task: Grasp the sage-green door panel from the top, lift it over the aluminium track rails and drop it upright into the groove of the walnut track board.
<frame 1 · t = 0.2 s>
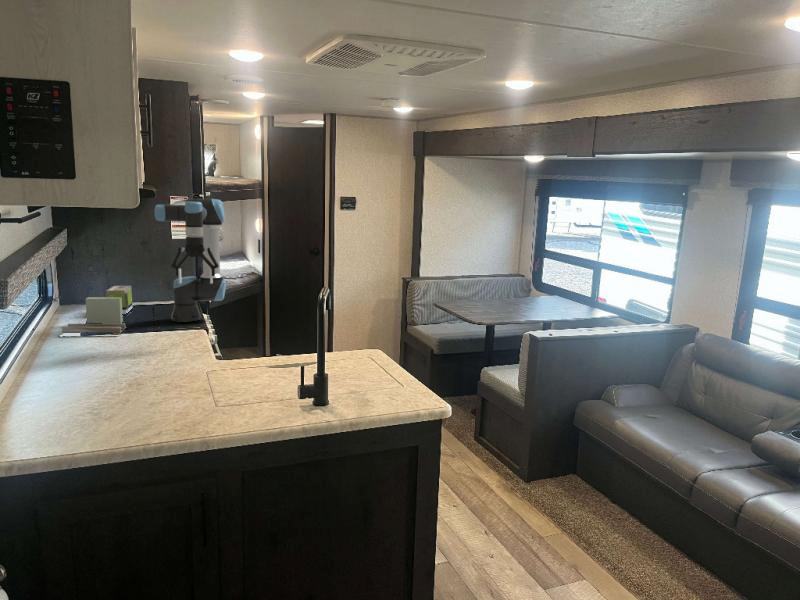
hand: (195, 283, 277), 28 cm above the worktop, tool pointing down, fingers open, 13 cm apart
tea box: (120, 314, 338), on the worktop
door panel: (105, 325, 311), on the worktop
walnut track: (94, 332, 295), on the worktop
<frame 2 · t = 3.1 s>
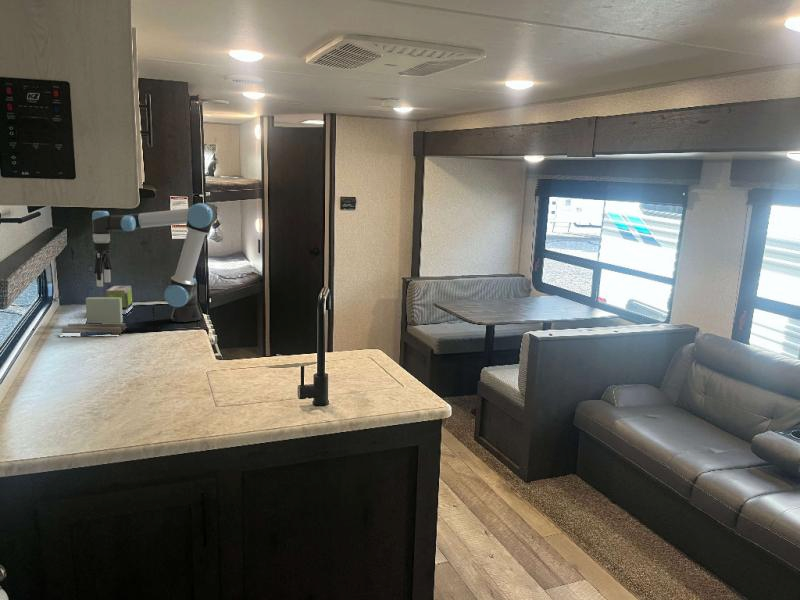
hand: (103, 284, 307), 21 cm above the worktop, tool pointing down, fingers open, 13 cm apart
nothing on the worktop moved.
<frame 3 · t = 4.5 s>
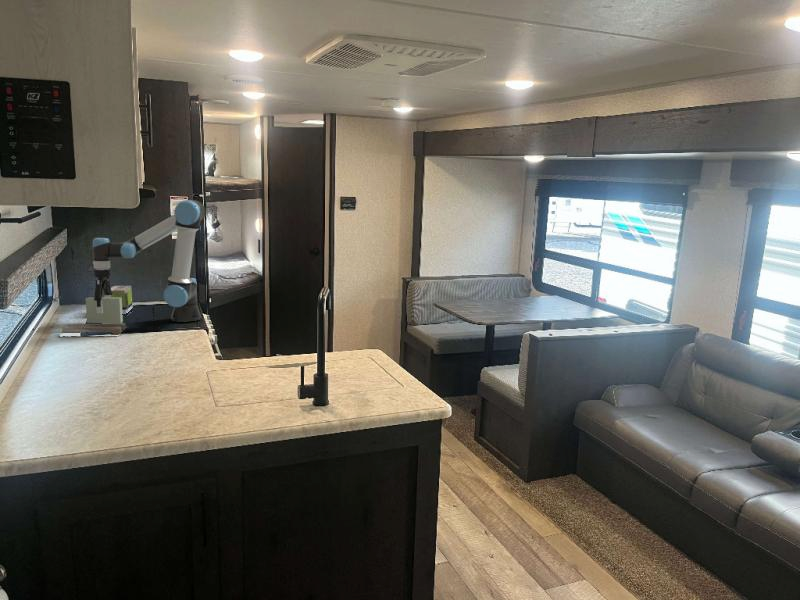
hand: (103, 310, 310), 8 cm above the worktop, tool pointing down, fingers open, 13 cm apart
nothing on the worktop moved.
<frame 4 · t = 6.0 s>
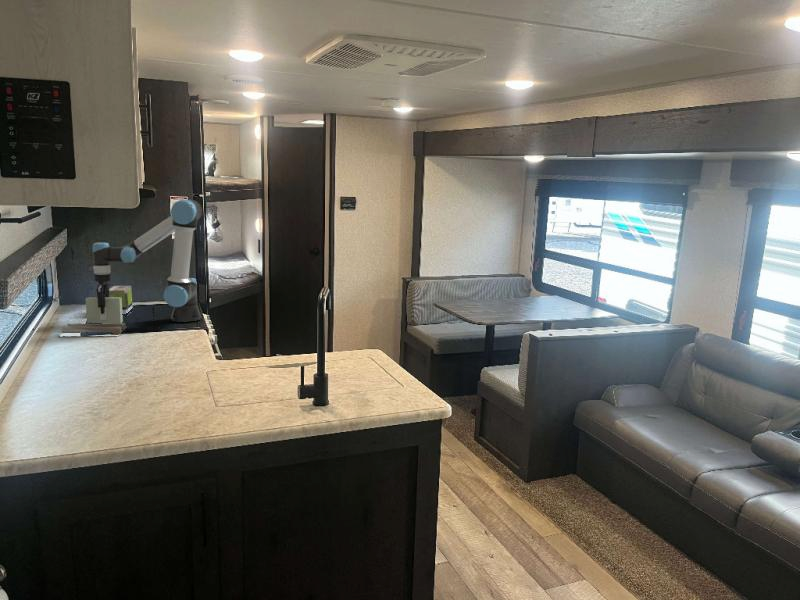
hand: (104, 318, 311), 3 cm above the worktop, tool pointing down, fingers closed on door panel, 4 cm apart
door panel: (105, 324, 311), on the worktop, touching gripper
everything else where it was.
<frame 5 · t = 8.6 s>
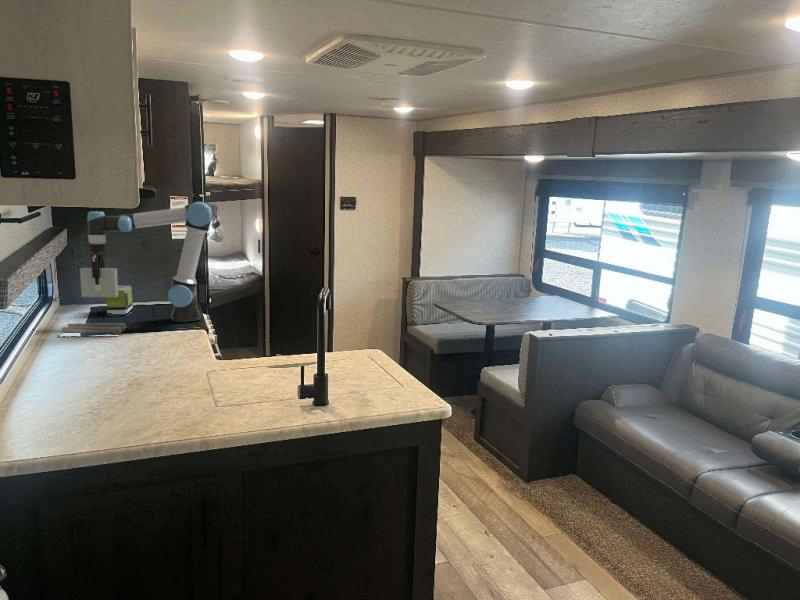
hand: (99, 290, 303), 19 cm above the worktop, tool pointing down, fingers closed on door panel, 4 cm apart
door panel: (100, 296, 304), point 16 cm above the worktop, touching gripper
everything else where it was.
when the fingers open (6 cm above the worktop, at t = 11.2 s): door panel drops 1 cm, resting on walnut track.
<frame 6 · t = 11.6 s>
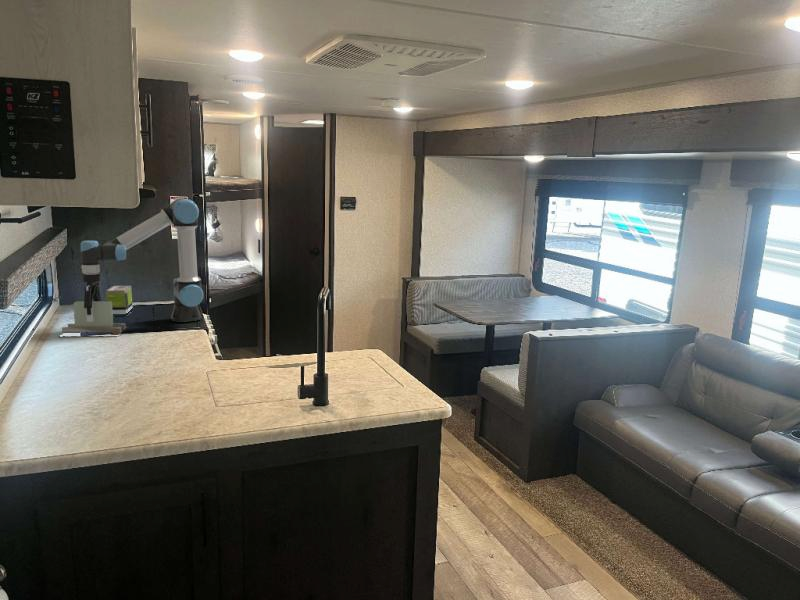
hand: (93, 318, 294), 7 cm above the worktop, tool pointing down, fingers open, 10 cm apart
door panel: (94, 330, 295), point 1 cm above the worktop, touching walnut track
everything else where it was.
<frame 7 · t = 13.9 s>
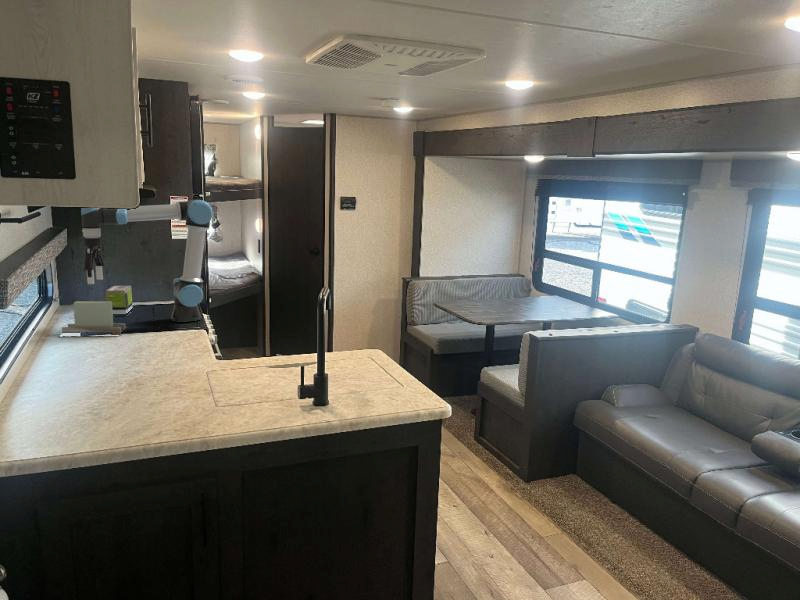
hand: (95, 281, 292), 25 cm above the worktop, tool pointing down, fingers open, 13 cm apart
nothing on the worktop moved.
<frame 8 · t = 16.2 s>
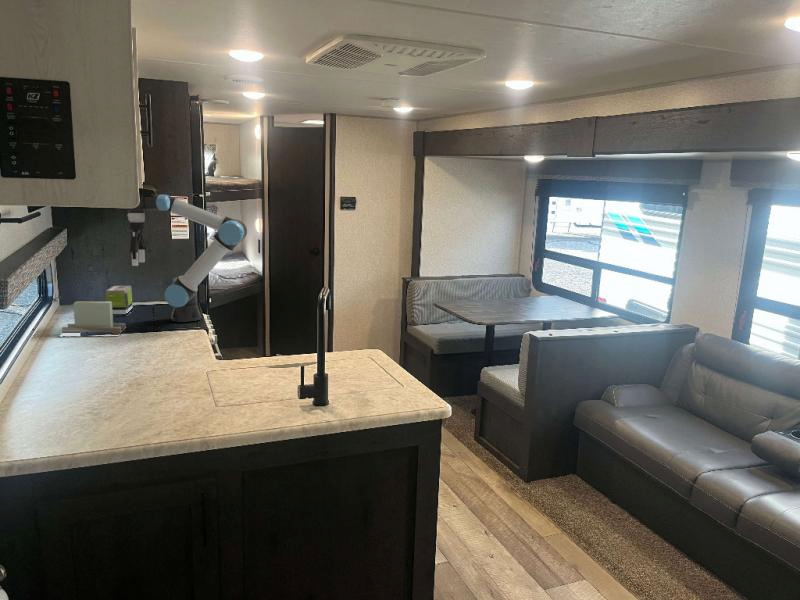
hand: (138, 264, 307), 32 cm above the worktop, tool pointing down, fingers open, 13 cm apart
nothing on the worktop moved.
at the end: door panel inside the target area on the walnut track (0.0 cm from its centre), point 1.0 cm above the walnut track's base; door panel tilted 0°; the gripper is holding nothing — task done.
